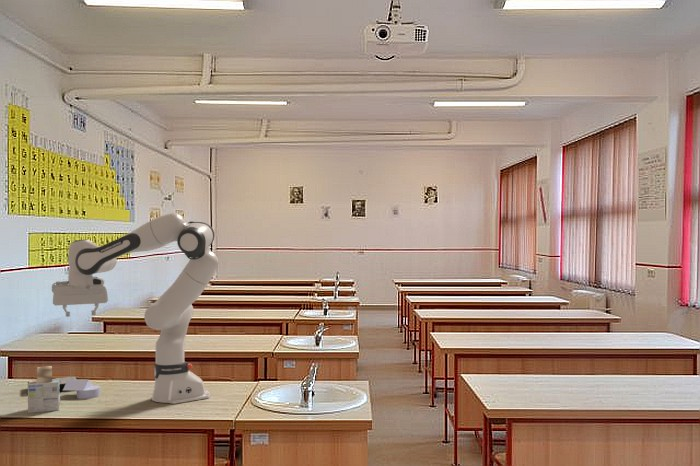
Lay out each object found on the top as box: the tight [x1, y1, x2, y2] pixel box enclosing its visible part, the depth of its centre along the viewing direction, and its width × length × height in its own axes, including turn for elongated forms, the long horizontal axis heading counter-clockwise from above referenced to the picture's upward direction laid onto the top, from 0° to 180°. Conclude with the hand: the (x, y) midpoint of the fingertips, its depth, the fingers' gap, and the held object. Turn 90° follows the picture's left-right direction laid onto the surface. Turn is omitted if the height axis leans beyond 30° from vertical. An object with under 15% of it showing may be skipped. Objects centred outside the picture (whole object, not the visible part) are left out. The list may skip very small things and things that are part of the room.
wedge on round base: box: [63, 378, 102, 400], centre depth 268 cm, size 9×7×13 cm
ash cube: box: [36, 365, 53, 383], centre depth 248 cm, size 5×5×5 cm
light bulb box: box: [27, 378, 61, 414], centre depth 248 cm, size 11×7×11 cm, turn 111°
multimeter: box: [27, 376, 78, 393], centre depth 280 cm, size 13×19×5 cm
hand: (80, 315), depth 262 cm, fingers open, 8 cm apart
